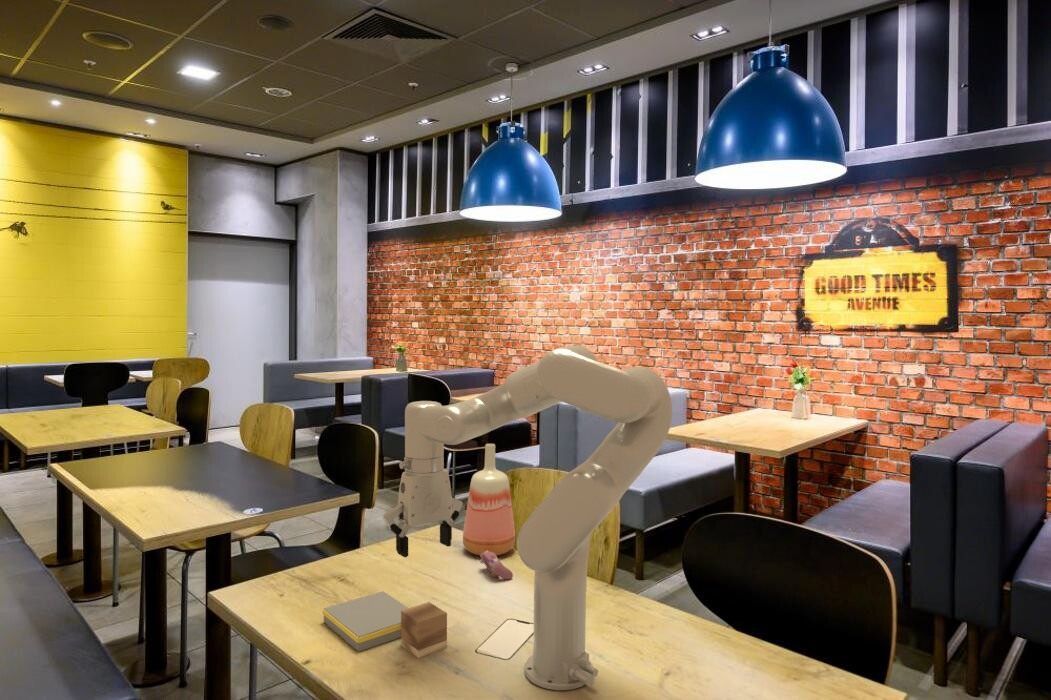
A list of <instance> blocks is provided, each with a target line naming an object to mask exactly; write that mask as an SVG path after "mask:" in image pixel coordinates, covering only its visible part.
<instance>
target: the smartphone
mask: <svg viewBox="0 0 1051 700" xmlns="http://www.w3.org/2000/svg"><path fill="white" fill-rule="evenodd" d="M533 636H534V622H529V621H524V620H520V619H515V618H507V619H506V620H505V621H503V622H502V624H500V625H499V626H498V628H496V629H495V630H494V631H493V632H492V633H491V634H490V635H489V636H488V637H487V638H486V639H485V640H484V641H483V642H482V643H481V644H480V645H478V647H477V648H476V649H475V650H474V652H475V653H476V654H479V655H483V656H487V657H491V658H495V659H499V660H503V661H509V660H511V659H512V658H513V657H514V656H515V655H516V654H517V653H518V651H520V650H521V648H522V647H523V646H524V645H526V643H527V642H528V641H529V639H531V638H532V637H533ZM477 650H480V651H482V652H483V653H481V652H479V651H477ZM484 652H485V653H484ZM486 653H487V654H486ZM489 654H490V655H489Z"/></svg>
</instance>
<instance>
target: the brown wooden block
mask: <svg viewBox="0 0 1051 700" xmlns="http://www.w3.org/2000/svg"><path fill="white" fill-rule="evenodd" d="M447 629H448V613H447V612H446V610H445V611H444V610H443V609H442V608H440V607H438V606H437V605H435V604H433V603H431V602H430V601H428V602H425V603H421V604H419V605H415V606H412V607H408V609H405V610H402V611H401V637H400V645H401V647H402V648H404V649H406V651H408V652H409V653H411V654H412V655H413V656H414V657H416V658H417V659H419V658H422V657H425V656H428V655H431V654H433V653H436V652H439V651H442V650H444V649H446V648H447V647H448V640H447V638H448V630H447Z"/></svg>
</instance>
